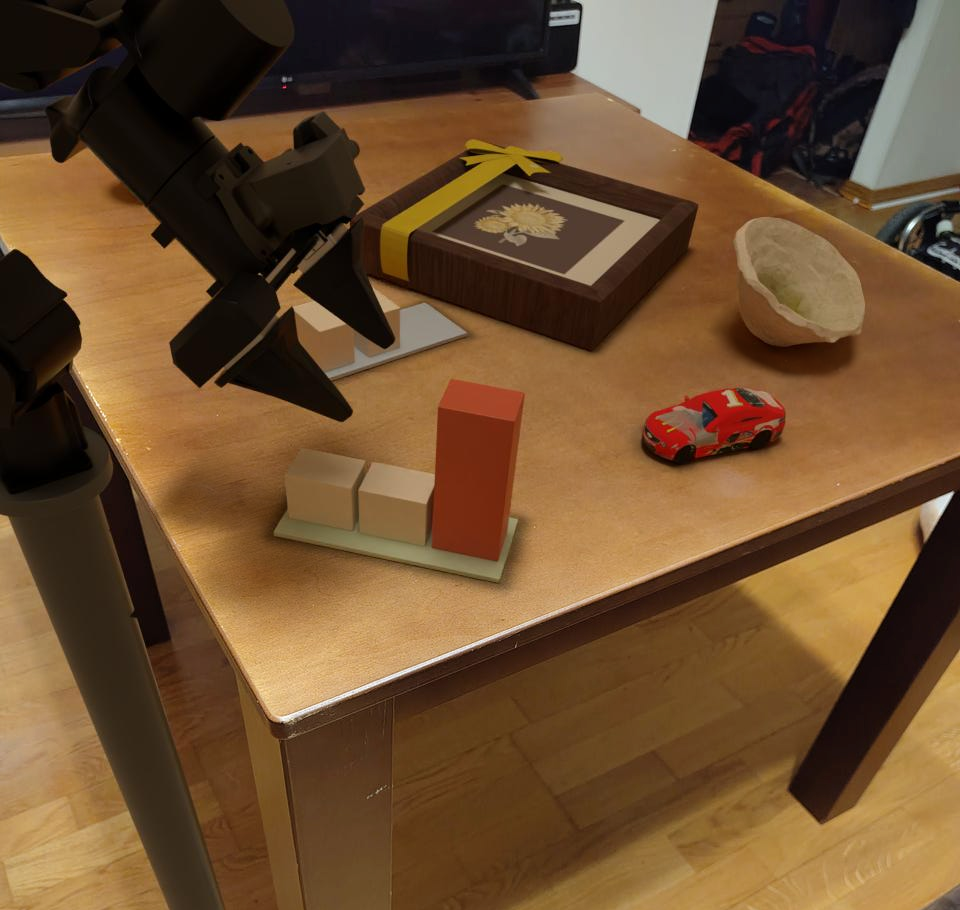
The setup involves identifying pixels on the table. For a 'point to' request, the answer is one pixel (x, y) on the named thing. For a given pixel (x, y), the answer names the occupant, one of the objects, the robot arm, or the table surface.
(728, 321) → the table surface
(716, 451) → the race car
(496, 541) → the orange upright bar
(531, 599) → the table surface
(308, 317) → the blocks on base plate
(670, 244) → the picture frame
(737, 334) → the table surface
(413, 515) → the pale green base plate
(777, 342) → the bowl
